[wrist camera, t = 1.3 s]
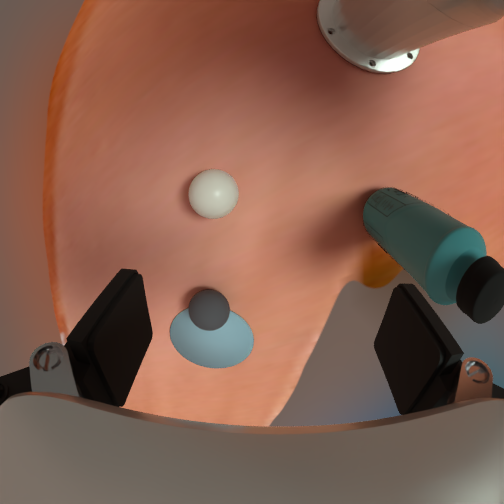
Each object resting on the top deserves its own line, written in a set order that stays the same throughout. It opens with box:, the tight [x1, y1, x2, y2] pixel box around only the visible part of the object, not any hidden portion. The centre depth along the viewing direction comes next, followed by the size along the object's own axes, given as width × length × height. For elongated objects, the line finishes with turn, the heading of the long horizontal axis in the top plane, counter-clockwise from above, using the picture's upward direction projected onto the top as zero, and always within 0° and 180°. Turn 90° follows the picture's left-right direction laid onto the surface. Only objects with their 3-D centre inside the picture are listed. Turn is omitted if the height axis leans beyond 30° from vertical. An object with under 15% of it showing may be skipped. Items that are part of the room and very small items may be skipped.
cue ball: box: [188, 169, 239, 219], centre depth 27 cm, size 5×5×5 cm
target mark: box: [170, 308, 254, 368], centre depth 38 cm, size 12×12×1 cm
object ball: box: [188, 290, 230, 331], centre depth 33 cm, size 5×5×5 cm
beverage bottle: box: [363, 187, 504, 324], centre depth 21 cm, size 6×7×20 cm
